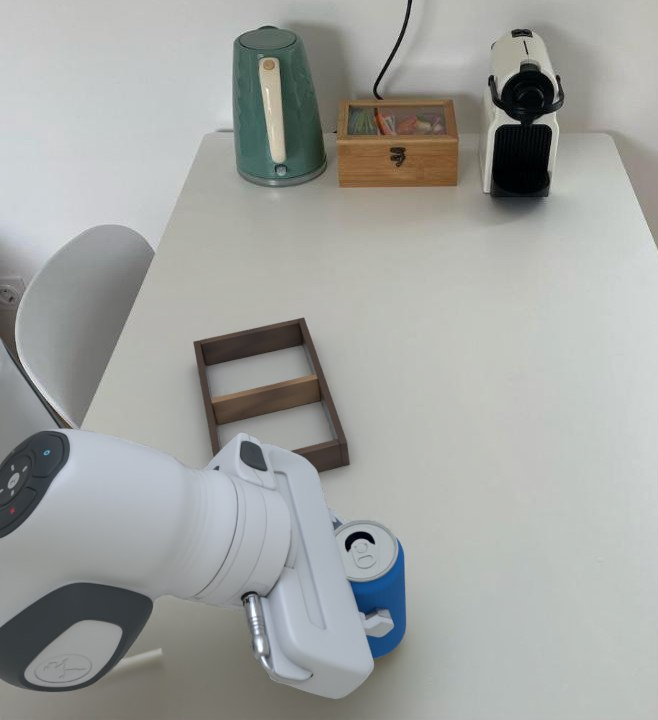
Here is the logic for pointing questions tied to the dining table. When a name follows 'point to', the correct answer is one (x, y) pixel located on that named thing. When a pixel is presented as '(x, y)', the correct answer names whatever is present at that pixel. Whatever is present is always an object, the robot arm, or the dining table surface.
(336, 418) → the tray
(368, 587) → the beverage can
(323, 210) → the dining table surface
